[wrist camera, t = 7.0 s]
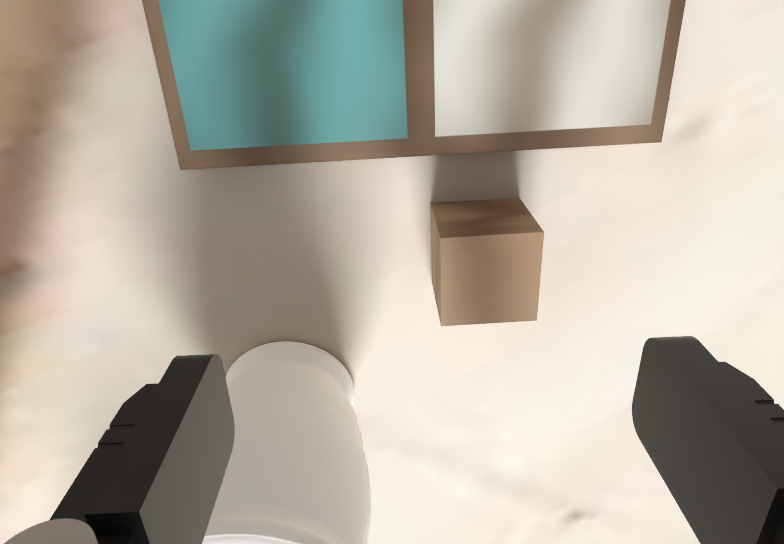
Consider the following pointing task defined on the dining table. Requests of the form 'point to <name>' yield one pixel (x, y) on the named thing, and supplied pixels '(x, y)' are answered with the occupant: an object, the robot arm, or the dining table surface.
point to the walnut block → (485, 261)
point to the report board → (409, 76)
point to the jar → (292, 452)
